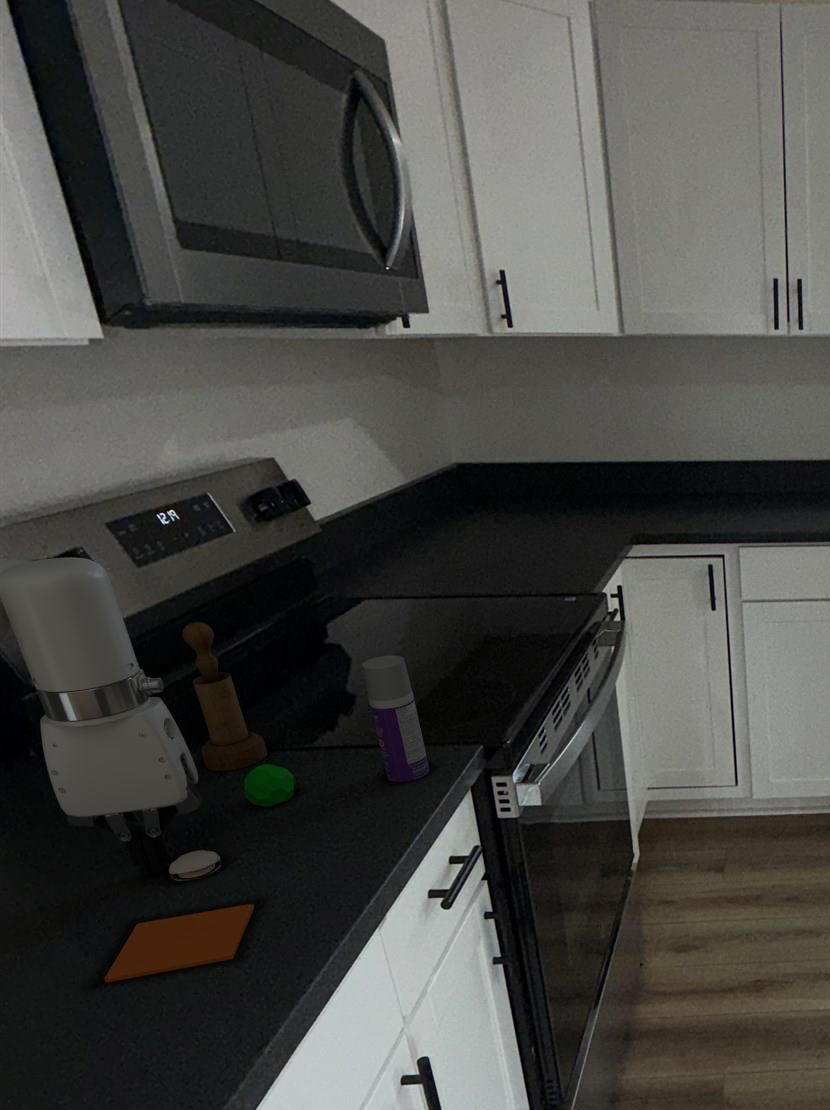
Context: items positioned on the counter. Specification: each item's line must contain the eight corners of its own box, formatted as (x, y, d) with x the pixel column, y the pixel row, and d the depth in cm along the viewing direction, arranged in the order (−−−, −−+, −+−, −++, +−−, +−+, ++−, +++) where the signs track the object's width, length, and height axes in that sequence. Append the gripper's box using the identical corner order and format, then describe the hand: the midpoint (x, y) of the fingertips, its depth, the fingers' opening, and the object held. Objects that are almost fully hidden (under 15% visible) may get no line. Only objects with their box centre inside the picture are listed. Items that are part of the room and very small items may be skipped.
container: (379, 783, 111) (350, 665, 105) (409, 767, 115) (384, 653, 109) (409, 789, 109) (381, 671, 103) (439, 773, 113) (414, 657, 107)
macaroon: (174, 892, 90) (166, 870, 89) (171, 869, 93) (163, 848, 92) (226, 877, 92) (219, 856, 91) (221, 856, 96) (214, 835, 95)
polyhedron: (300, 808, 105) (289, 770, 103) (250, 819, 103) (237, 781, 101) (299, 790, 109) (288, 754, 107) (250, 800, 107) (238, 763, 105)
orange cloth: (98, 992, 76) (94, 982, 76) (135, 930, 84) (131, 921, 84) (237, 966, 80) (233, 956, 79) (260, 909, 87) (257, 899, 87)
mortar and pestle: (221, 776, 113) (175, 635, 105) (196, 763, 116) (150, 626, 108) (277, 756, 118) (237, 620, 110) (251, 744, 121) (211, 612, 113)
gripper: (202, 673, 90) (252, 836, 97) (14, 691, 85) (82, 861, 93) (179, 701, 83) (235, 873, 91) (-26, 722, 79) (51, 902, 86)
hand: (157, 867), depth 92 cm, fingers closed
